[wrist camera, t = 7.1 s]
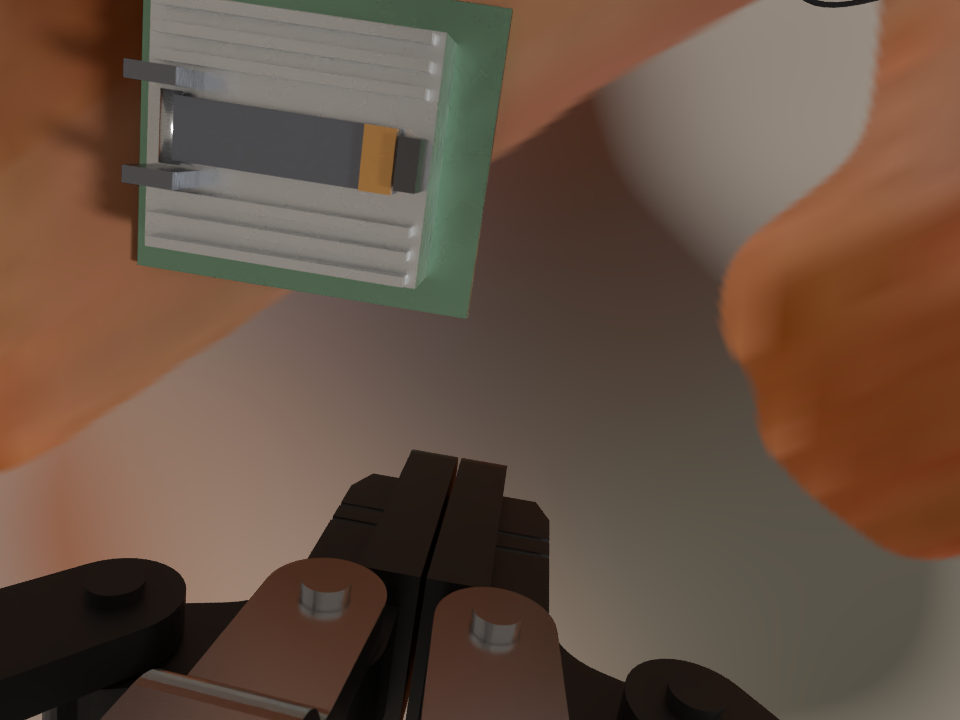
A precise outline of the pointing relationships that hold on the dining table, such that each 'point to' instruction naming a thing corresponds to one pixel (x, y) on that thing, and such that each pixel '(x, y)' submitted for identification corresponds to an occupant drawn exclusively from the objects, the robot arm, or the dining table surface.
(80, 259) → the dining table surface
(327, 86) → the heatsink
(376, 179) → the lever
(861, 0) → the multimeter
